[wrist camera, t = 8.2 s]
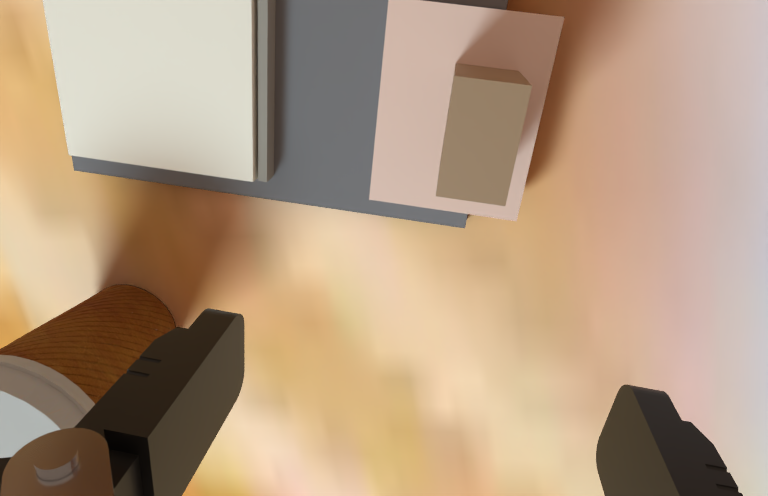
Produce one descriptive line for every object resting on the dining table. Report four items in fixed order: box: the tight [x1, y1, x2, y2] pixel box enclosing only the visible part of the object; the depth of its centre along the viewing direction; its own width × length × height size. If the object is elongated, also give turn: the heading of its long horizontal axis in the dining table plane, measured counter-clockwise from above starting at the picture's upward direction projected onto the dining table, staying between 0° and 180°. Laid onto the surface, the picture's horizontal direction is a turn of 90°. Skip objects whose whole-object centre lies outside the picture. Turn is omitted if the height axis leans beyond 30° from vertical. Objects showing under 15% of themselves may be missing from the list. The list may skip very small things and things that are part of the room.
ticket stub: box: [369, 0, 564, 221], centre depth 24 cm, size 8×10×6 cm
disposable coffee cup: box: [0, 285, 175, 458], centre depth 32 cm, size 10×10×12 cm
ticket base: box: [43, 0, 508, 228], centre depth 28 cm, size 24×13×2 cm, turn 85°
